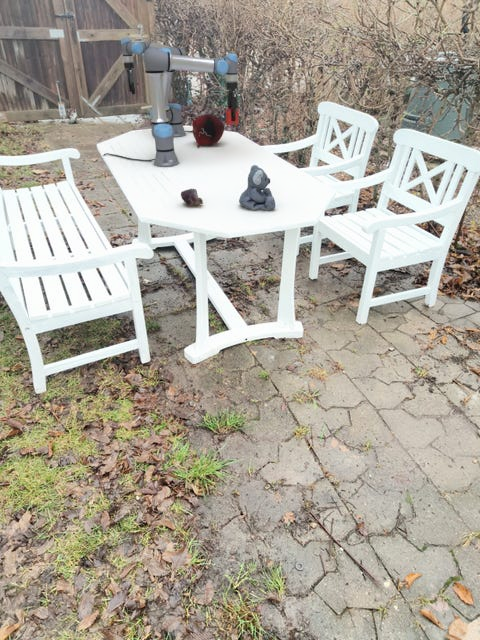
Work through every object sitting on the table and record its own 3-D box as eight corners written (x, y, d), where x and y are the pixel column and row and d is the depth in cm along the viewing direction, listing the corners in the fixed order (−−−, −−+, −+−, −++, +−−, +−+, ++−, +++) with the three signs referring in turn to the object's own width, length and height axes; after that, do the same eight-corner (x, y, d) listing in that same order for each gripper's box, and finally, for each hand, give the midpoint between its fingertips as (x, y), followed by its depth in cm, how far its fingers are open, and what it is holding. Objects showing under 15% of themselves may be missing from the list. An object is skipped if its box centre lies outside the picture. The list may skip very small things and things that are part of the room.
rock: (196, 202, 238) (178, 205, 233) (194, 185, 234) (176, 188, 230) (205, 205, 228) (187, 208, 224) (203, 188, 224) (185, 191, 220)
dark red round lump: (190, 120, 341) (188, 116, 317) (221, 113, 340) (220, 109, 316) (197, 149, 348) (195, 148, 324) (227, 142, 347) (227, 141, 323)
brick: (238, 124, 304) (238, 109, 299) (227, 124, 302) (227, 109, 297) (236, 122, 308) (236, 108, 303) (225, 123, 306) (225, 108, 301)
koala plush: (276, 211, 223) (277, 171, 212) (240, 212, 222) (240, 172, 211) (271, 199, 237) (272, 161, 226) (237, 200, 236) (237, 162, 225)
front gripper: (241, 83, 284) (241, 122, 298) (233, 79, 298) (233, 117, 312) (230, 83, 282) (230, 123, 296) (222, 80, 297) (223, 118, 310)
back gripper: (135, 63, 337) (139, 94, 349) (131, 60, 356) (135, 90, 368) (125, 63, 335) (129, 95, 347) (121, 61, 354) (125, 91, 366)
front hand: (232, 120), depth 304 cm, fingers closed on brick, 5 cm apart
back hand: (132, 92), depth 357 cm, fingers open, 13 cm apart
